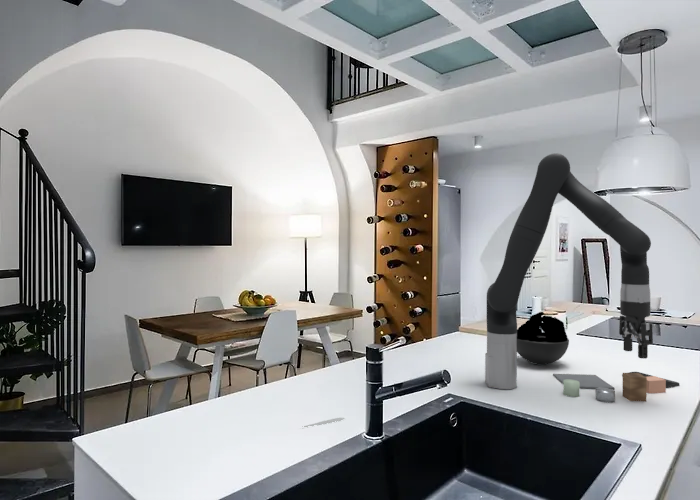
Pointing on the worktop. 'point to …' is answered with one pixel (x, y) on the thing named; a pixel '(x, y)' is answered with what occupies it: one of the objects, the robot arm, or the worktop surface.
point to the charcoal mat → (585, 380)
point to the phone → (668, 382)
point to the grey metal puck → (605, 395)
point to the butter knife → (326, 421)
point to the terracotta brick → (655, 385)
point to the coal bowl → (542, 339)
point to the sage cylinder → (571, 388)
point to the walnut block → (634, 387)
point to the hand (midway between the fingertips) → (635, 354)
